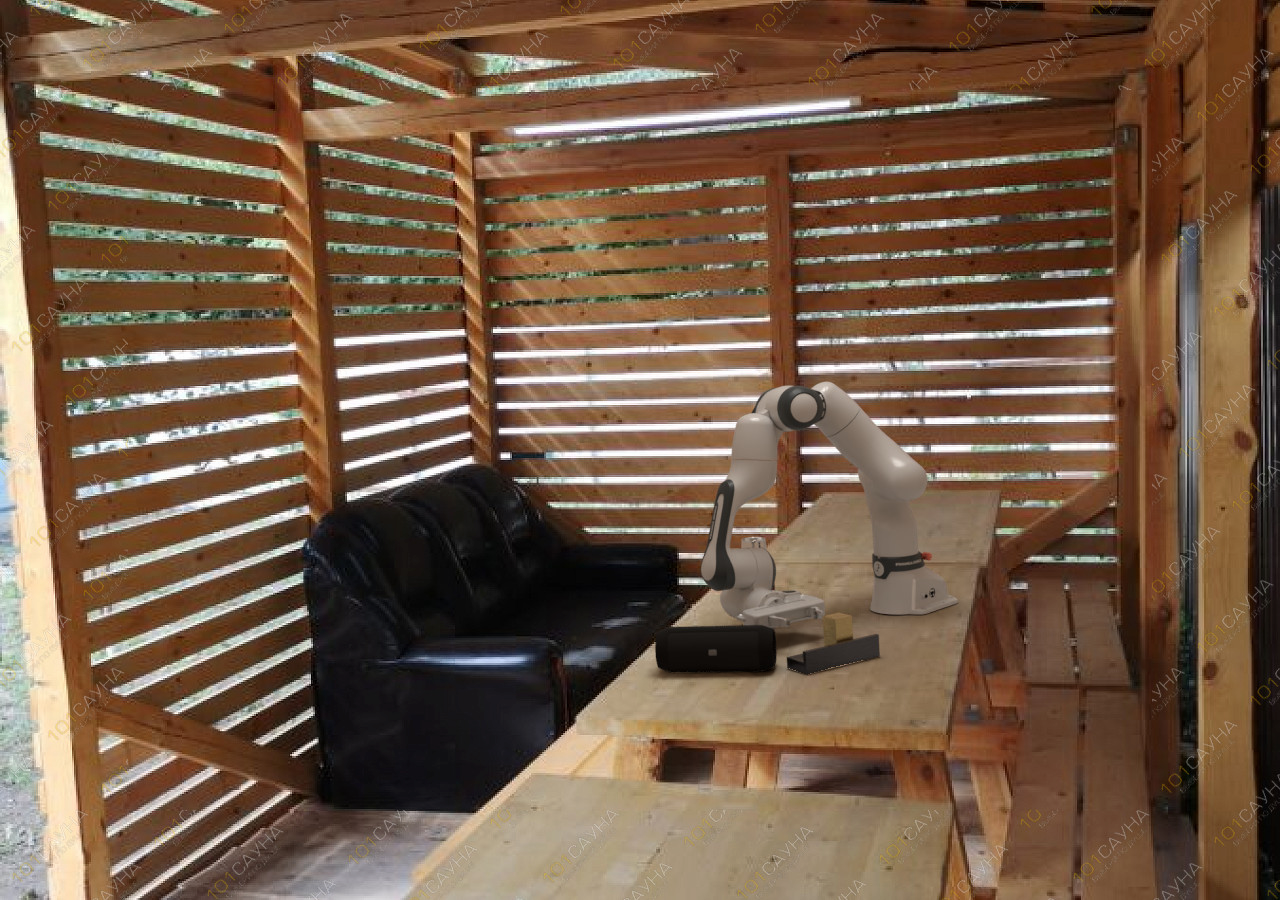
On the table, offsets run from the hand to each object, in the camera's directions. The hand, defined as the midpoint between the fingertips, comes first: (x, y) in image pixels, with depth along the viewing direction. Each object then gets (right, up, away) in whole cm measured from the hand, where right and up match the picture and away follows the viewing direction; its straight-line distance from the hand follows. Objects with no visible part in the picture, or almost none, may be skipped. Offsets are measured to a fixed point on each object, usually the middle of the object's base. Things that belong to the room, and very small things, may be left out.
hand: (804, 619), depth 305 cm
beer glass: (-5, -1, +62) cm, 62 cm away
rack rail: (+5, -8, -11) cm, 15 cm away
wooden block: (+7, -8, -10) cm, 14 cm away
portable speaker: (-20, -10, -10) cm, 25 cm away
